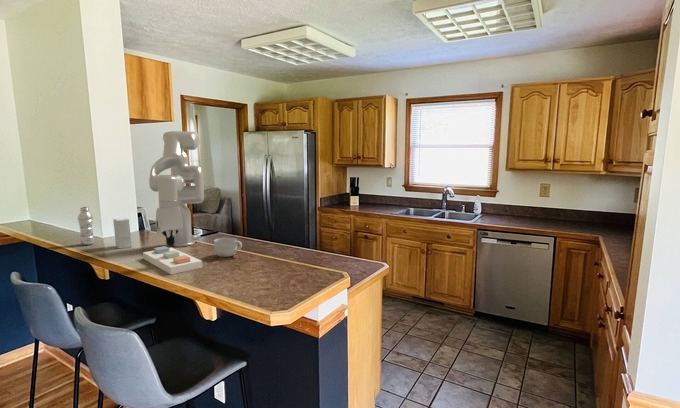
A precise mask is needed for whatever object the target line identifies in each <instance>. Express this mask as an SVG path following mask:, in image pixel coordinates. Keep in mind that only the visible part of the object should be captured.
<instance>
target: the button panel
mask: <svg viewBox="0 0 680 408" xmlns="http://www.w3.org/2000/svg"><path fill="white" fill-rule="evenodd" d="M168 248H169V251H177V252H179V256H184V255H186V256H188V257H190V262H187V263H182V264H176V263H174V262H173V258H170V259H166V258H164V257H163V253H161V254H157V253H155V252H154V250H150V251H143V252H142V257H143V258H142V259H144V260H145V261H146V262H148V263H149V264H152V265H154V266H155V267H157V268H159V269H161V270H162V271H164V272H165V273H168V274H169V275H176V274H180V273H185V272H189V271H194V270H198V269H203V261H202V260H201V259H199V258H198V257H197V258H196V257H194V256H193V255H190V254H187V253H185V252H183V251H180V250H179V249H175V248H174V247H168Z"/></svg>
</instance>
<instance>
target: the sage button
mask: <svg viewBox="0 0 680 408" xmlns="http://www.w3.org/2000/svg"><path fill="white" fill-rule="evenodd" d="M178 256H179V252H177V251H169V252H163V257H164V258H166V259H170V258H173V257H178Z"/></svg>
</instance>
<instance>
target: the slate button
mask: <svg viewBox="0 0 680 408" xmlns="http://www.w3.org/2000/svg"><path fill="white" fill-rule="evenodd" d="M169 248H170V247H167V246H165V245H164V246H160V247H159V246H158V247H154V248H153V251H154V252H155V253H157V254H161V253H163V252H169Z"/></svg>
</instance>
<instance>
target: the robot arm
mask: <svg viewBox="0 0 680 408" xmlns="http://www.w3.org/2000/svg"><path fill="white" fill-rule="evenodd" d="M162 139H163V142H164V143H163V144H164V145H163V153H162V157H160V158H159V159H157V160H156V162H155V163H153V165H151V168H150V172H149V178H148V179H149V180H148V182H149V183H148V185H149V188H150V189H151V191H153V192H157V194H158V207H157V208H156V211H155V213H156V214H155V229H156V234H158V235H162V236H164V237H165V244H166V245H167V246H169V247H173V248H174V247H175V248H176V247H177V248H178V247H179V248H180V247H181V248H182V247H188V246H189V247H190V246H193V245H195V243H196V241H195V240H199V239H201V237H202V236H201V235H200V234H199V235H197V234H195V235H193V234H192V233H193V232H192V215H191V210H190V209H189V207H188V206H187V204H202V203H203V201H204V200H205V188H204V187H205V185H204V184H205V183H204V171H203V169H202V167H201V166H199V165H189V156H188V154H187V153H186V152H185V151H184V150H187V151H190V150H191V151H193V150H197V149H198V148H199V145H200V135H199V134H198V133H197V132H196V131H184V130H183V131H181V130H178V131H177V130H176V131H175V130H172V131H165V132H164V133H163V136H162ZM169 169H170V174H162V172H164V171H166V170H169ZM185 184H193V185H185Z"/></svg>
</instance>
